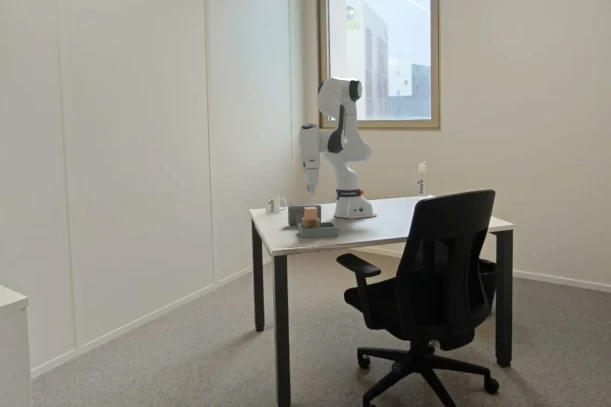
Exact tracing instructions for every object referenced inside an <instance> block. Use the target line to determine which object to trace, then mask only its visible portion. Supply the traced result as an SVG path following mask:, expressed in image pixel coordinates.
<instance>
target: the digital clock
mask: <svg viewBox="0 0 611 407" xmlns="http://www.w3.org/2000/svg"><path fill="white" fill-rule="evenodd" d="M304 207H316V208H317V217H318V218H319V220H320V222H322V205H320V204H307V205H289V206H288V207H287V217H288V218H287V220H288V222H287V223H288V226H289V227H298V224H299V223H302V218H305V215H304Z"/></svg>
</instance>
